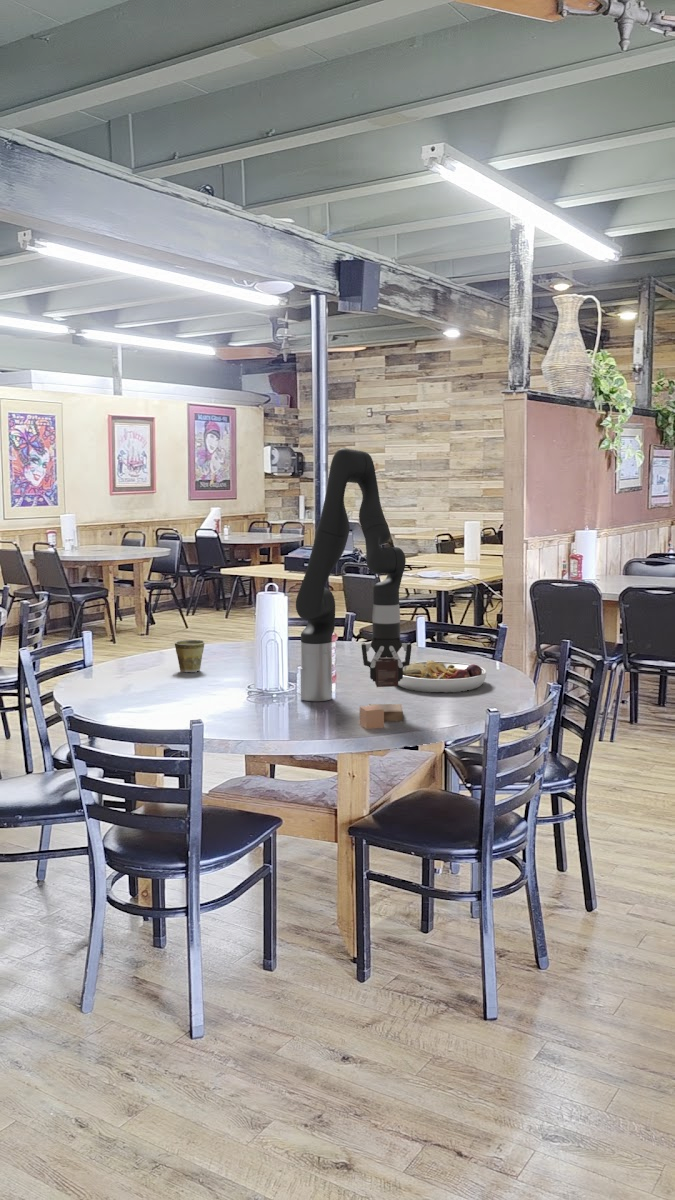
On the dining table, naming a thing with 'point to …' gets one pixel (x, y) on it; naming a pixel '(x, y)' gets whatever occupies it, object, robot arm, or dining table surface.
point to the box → (386, 672)
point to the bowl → (442, 676)
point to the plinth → (391, 711)
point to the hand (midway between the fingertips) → (386, 680)
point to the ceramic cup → (189, 654)
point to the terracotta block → (371, 717)
